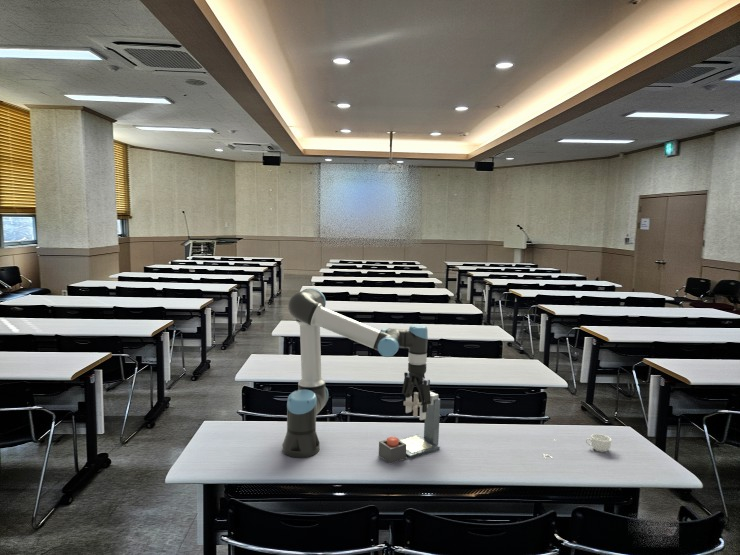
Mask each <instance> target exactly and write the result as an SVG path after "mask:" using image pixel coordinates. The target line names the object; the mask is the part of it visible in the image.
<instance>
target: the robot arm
mask: <svg viewBox="0 0 740 555" xmlns="http://www.w3.org/2000/svg"><path fill="white" fill-rule="evenodd" d="M326 301H327V300H326V297H325V295H324V294H323V293H322V291H320V290H318V289H316V288H305V289H303V290H301V291H298V292H295V293H294V294H293V295H292V296H290V298H289V301H288V303H287V304H288V305H287V306H288V307H287V308H288V311H289V314H290V315H291V316H292V317H293V318H294V319H295V322H296V323H297V324H298V325H299V338H300V339H299V341H300V366H301V369H300V370H301V372H300V373H301V379H300V380H299V381H298V383H297V384H298V386H297V388H298V389H297V390H294V391H292V392H291V393H290V394H288V397H287V402H286V434H285V437H284V440H283V443H282V453H283V454H284V455H285V456H287V457H290V458H296V459H297V458H298V459H301V458H309V457H313V456H315V455H316V454H318V453H319V452H320V446H321V444H320V441H319V437H318V434H317V430H316V428H317V416H318V414H319V413H320V412H321V411H322V409H323V408H324V407H325V406H326V405H327V402H328V400H329V391H328V388H327V387H326V380H325V379H323V378H322V358H321V357H322V355H321V354H322V353H321V352H322V351H321V328H323V329H325V330H327V331H330V332H333V333H334V334H337V335H339V336H342V337H344V338H347V339H349V340H351V341H354V342H355V343H358V344H361V345H364V346H366V347H369V348H371V349H374V350H375V351H377V352H378V353H379V354H380V356H382V357H385V358H390V357H393V356H395V354H397V352H398V351H399V348H403V349H408V356H407V358H408V359H407V361H408V364H407V371H405V372H404V379H403V384H402V391H401V394H402V395H404V397H405V398H404V399H405V400H404V401H409V402H413V397H412V396H413V395H412V393H413V391H414V388H415V386H416V389H417V390H418V396H419V400H420V403H422V404H420V407H419V420H420V421H425V419H426V412H427V405H428V404H431V397H430V391H431V388H430V384H431V381H430V379H427V378H426V377H425V374H426V372H427V358H428V357H427V356H428V337H429V336H428V327H427V326H425V325H423V324H411V325H409V328H408V329H400V328H390V327H389V328H388V327H387V328H386V327H385V328H381V330H379V329H377V328H375V327H372V326H370V325H368V324H365V323H363V322H359V321H357V320H355V319H353V318H351V317H348V316H346V315H343V314H341V313H338V312H336V311H333V310H331V309H329V308H326V304H327V302H326ZM412 408H413V406H405V413H406V414H409V413H411V412H412V413H413V410H412Z"/></svg>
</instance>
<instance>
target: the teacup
mask: <svg viewBox="0 0 740 555" xmlns="http://www.w3.org/2000/svg"><path fill="white" fill-rule="evenodd" d="M587 441H590V443H589V442H587ZM585 443H586V444H587V445H589V446H591V447H592V448H593V449H594V451H597V452H600V453H606V452H608V451H609V450H610V449H611V445H612V438H611V437H610V436H608V435H605V434H600V433H593V434H591V435H590V437H589V438H588V437H587V438H586V439H585Z"/></svg>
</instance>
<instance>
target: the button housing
mask: <svg viewBox="0 0 740 555" xmlns="http://www.w3.org/2000/svg"><path fill="white" fill-rule="evenodd" d="M378 457H380V458H381V459H383V460H384V461H386V462H387V463H388V464H390V465H391V464H394V463H397V462H401V461H403V460H406V459H407V457H406V444H405V443H403V442H401V441H400V440H399V445H398V446H395V447H390V446H388V445H387V439H384V440H379V441H378Z"/></svg>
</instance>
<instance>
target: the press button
mask: <svg viewBox="0 0 740 555" xmlns="http://www.w3.org/2000/svg"><path fill="white" fill-rule="evenodd" d="M399 439H400V438H398V437H395V436H389V437H386V440H387V445H388V446H390V447H395V446H398V445H399Z"/></svg>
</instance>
